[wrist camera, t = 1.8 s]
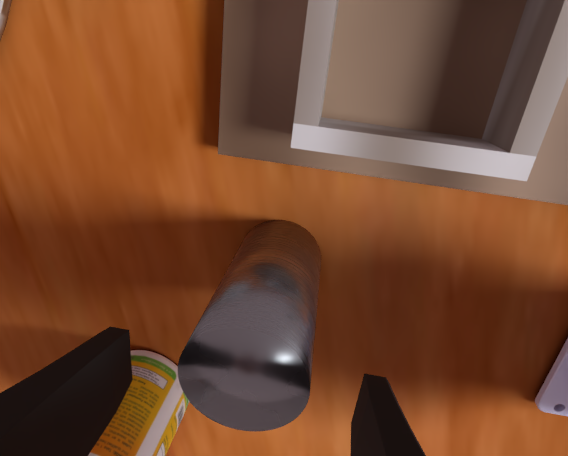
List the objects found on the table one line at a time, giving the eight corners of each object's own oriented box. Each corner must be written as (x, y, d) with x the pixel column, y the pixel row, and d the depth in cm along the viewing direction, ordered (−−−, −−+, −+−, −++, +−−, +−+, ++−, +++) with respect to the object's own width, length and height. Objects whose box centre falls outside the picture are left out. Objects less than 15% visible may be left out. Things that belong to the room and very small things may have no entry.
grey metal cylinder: (327, 227, 17) (319, 342, 10) (314, 298, 19) (300, 441, 12) (243, 214, 18) (177, 316, 10) (238, 285, 19) (177, 417, 12)
